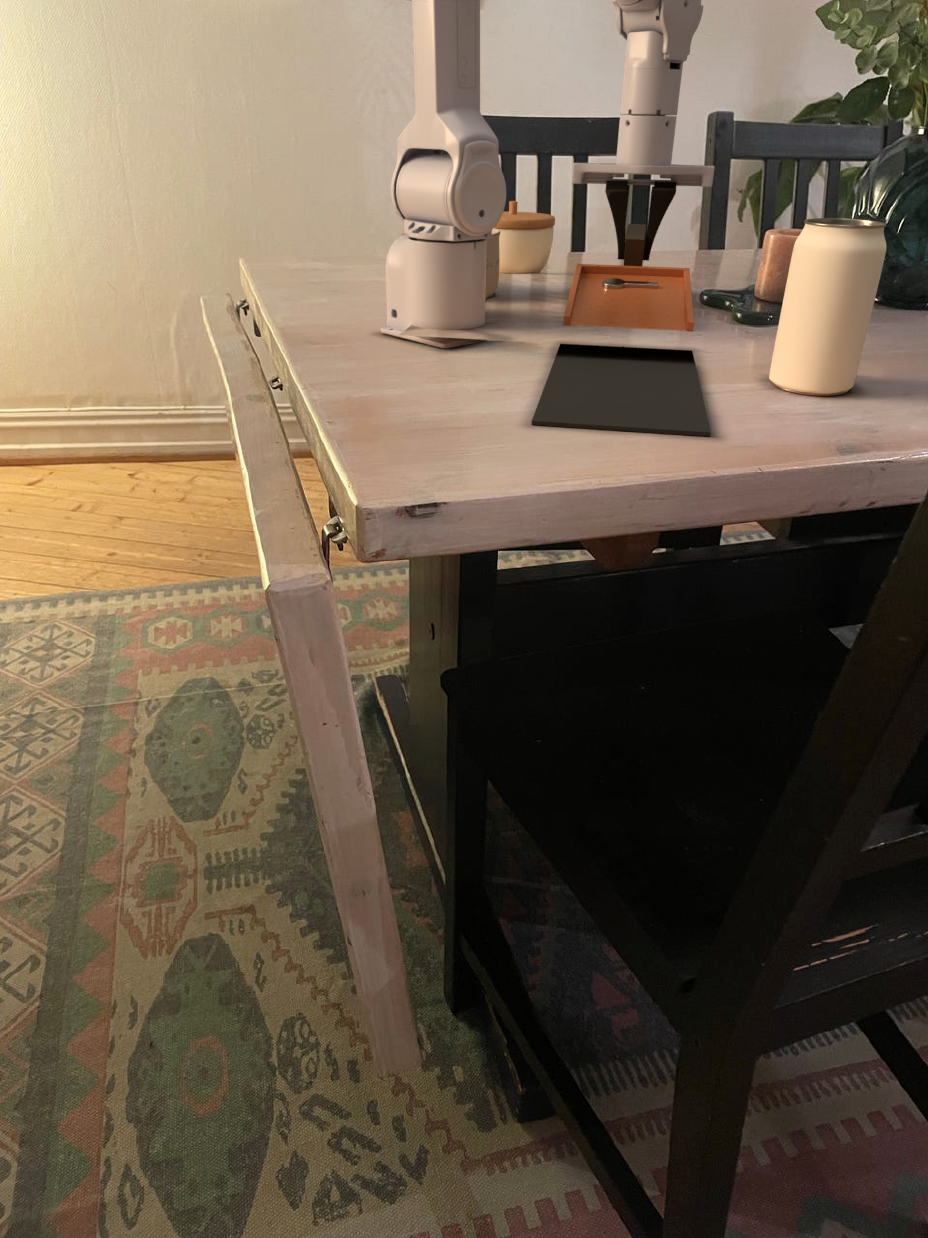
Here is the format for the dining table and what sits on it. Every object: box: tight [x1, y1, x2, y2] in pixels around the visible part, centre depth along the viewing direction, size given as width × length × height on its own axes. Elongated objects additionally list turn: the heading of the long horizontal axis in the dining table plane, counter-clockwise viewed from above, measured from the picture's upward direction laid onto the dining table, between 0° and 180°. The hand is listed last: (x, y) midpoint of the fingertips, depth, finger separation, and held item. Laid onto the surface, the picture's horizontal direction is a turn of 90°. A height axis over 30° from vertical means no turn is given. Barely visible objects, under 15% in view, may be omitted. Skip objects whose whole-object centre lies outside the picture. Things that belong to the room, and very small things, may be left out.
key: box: [602, 278, 659, 289], centre depth 90 cm, size 6×2×1 cm, turn 80°
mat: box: [531, 343, 712, 437], centre depth 69 cm, size 12×26×1 cm, turn 170°
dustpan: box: [563, 223, 695, 332], centre depth 88 cm, size 12×22×4 cm, turn 170°
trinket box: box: [494, 200, 556, 274], centre depth 111 cm, size 11×11×9 cm
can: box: [768, 217, 887, 397], centre depth 66 cm, size 6×6×12 cm
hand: (633, 258), depth 95 cm, fingers closed on dustpan, 2 cm apart
